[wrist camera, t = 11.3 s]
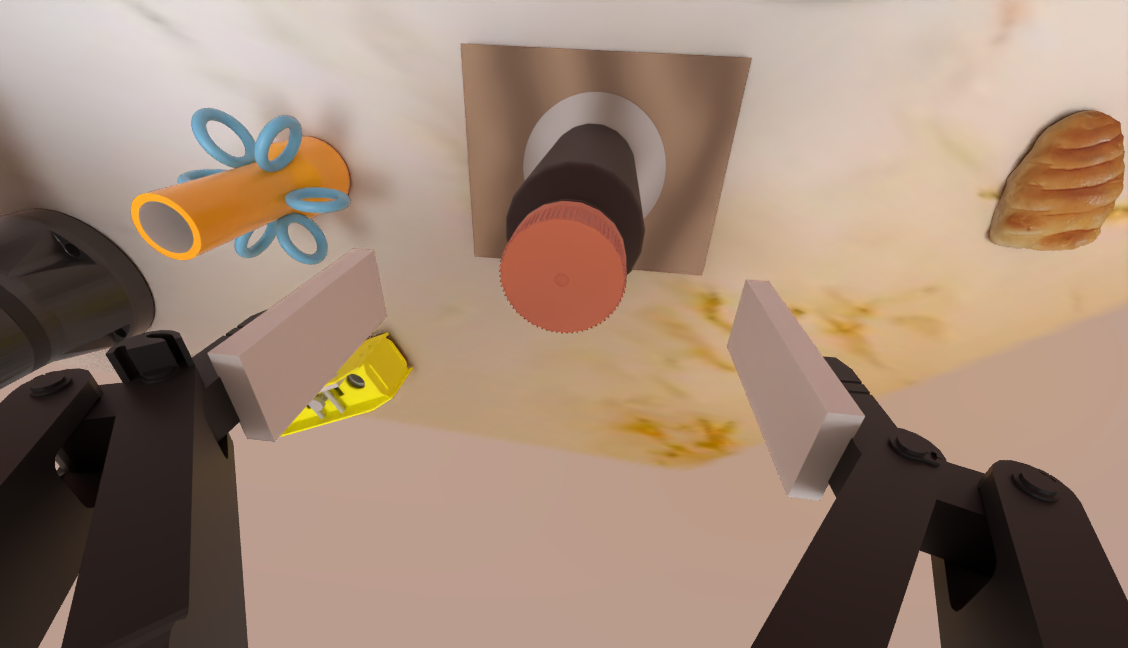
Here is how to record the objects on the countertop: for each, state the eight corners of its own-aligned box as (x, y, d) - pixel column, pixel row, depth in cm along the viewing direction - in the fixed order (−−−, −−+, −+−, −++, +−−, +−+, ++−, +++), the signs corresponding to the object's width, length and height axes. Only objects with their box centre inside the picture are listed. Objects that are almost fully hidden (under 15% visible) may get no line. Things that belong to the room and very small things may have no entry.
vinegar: (635, 211, 35) (650, 353, 18) (552, 215, 36) (490, 354, 19) (635, 118, 31) (654, 183, 14) (543, 126, 32) (458, 195, 15)
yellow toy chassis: (388, 324, 46) (346, 372, 39) (417, 366, 48) (382, 418, 41) (278, 363, 51) (222, 412, 43) (310, 399, 53) (261, 451, 46)
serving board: (479, 250, 40) (473, 257, 39) (466, 44, 32) (458, 43, 30) (699, 268, 39) (702, 277, 37) (746, 57, 30) (753, 57, 29)
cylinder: (406, 212, 39) (302, 285, 26) (321, 254, 42) (192, 337, 30) (315, 69, 34) (131, 74, 21) (226, 129, 37) (19, 165, 24)
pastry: (1012, 120, 31) (1059, 127, 28) (1128, 99, 30) (1192, 104, 26) (977, 244, 35) (1014, 263, 32) (1076, 231, 34) (1125, 249, 31)
